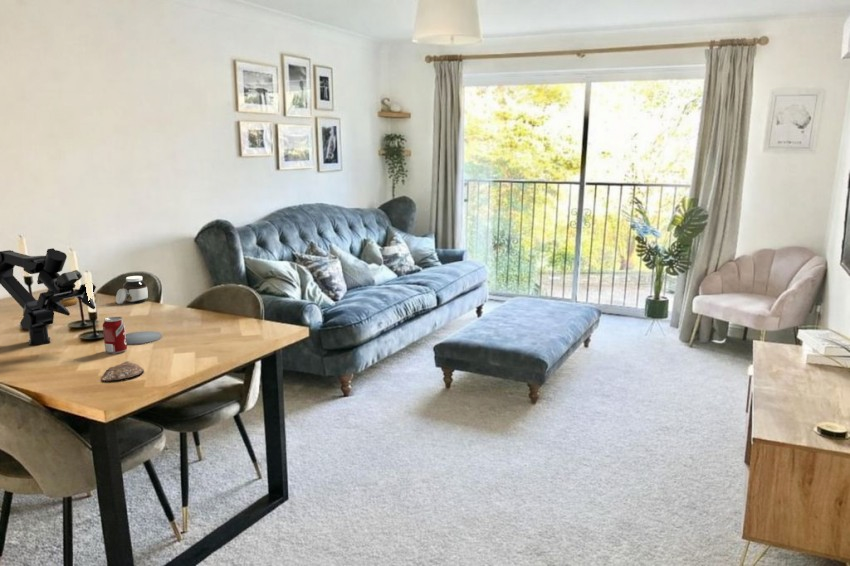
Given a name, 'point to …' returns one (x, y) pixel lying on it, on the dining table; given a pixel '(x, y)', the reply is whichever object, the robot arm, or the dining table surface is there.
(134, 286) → the spread jar
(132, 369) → the shell
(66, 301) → the ornamental finial
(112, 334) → the soda can
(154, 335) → the grey flat disc
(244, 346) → the dining table surface
